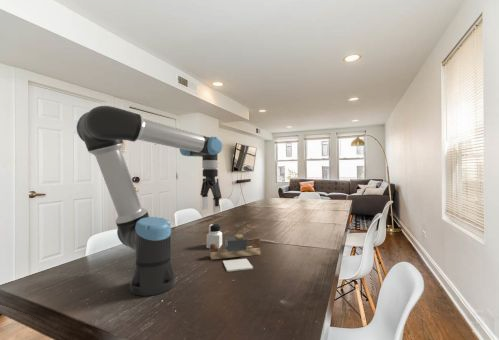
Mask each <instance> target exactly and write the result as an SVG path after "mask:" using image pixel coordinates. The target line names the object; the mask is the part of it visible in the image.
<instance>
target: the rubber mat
mask: <svg viewBox="0 0 499 340" xmlns="http://www.w3.org/2000/svg"><path fill="white" fill-rule="evenodd" d="M222 263H223V266H224V268H225V270H226V272H228V273H229V272H237V271H248V270H254V266H253V265H252V264H251V263H250V261H249V260H248V259H247V258H239V259H238V258H237V259H228V260H222Z"/></svg>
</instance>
